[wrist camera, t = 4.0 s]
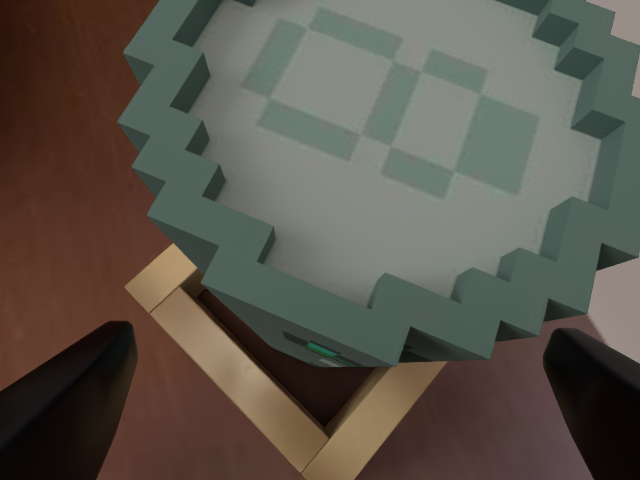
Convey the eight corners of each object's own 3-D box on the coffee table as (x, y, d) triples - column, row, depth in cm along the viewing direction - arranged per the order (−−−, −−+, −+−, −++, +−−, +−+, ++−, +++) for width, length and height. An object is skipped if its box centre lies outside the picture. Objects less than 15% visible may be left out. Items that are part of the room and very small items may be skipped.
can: (357, 385, 18) (605, 455, 4) (231, 330, 18) (14, 203, 4) (401, 262, 20) (683, -11, 6) (286, 214, 20) (270, -156, 6)
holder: (326, 483, 17) (332, 507, 14) (149, 299, 19) (122, 286, 16) (481, 291, 20) (513, 279, 17) (315, 147, 21) (318, 113, 19)
